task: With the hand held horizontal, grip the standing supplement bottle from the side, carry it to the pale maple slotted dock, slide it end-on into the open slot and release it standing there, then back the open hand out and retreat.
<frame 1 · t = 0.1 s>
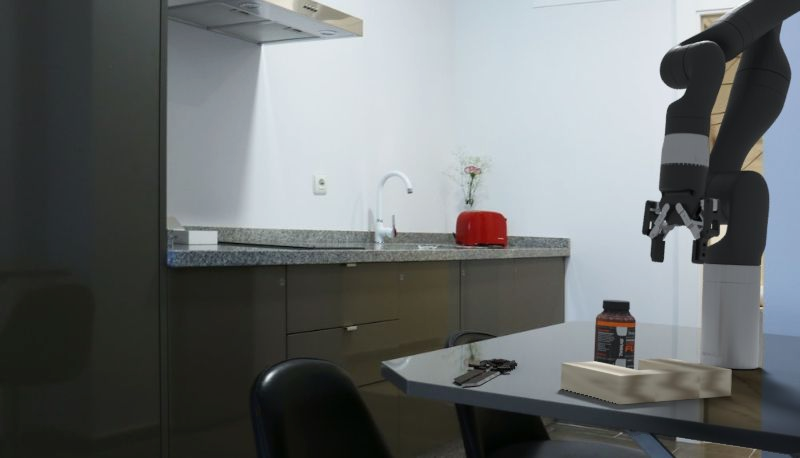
hand: (676, 263, 136), 17 cm above the table, tool pointing down, fingers open, 8 cm apart
supplement bottle: (613, 376, 127), on the table
slot dock: (645, 392, 112), on the table
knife: (486, 379, 122), on the table
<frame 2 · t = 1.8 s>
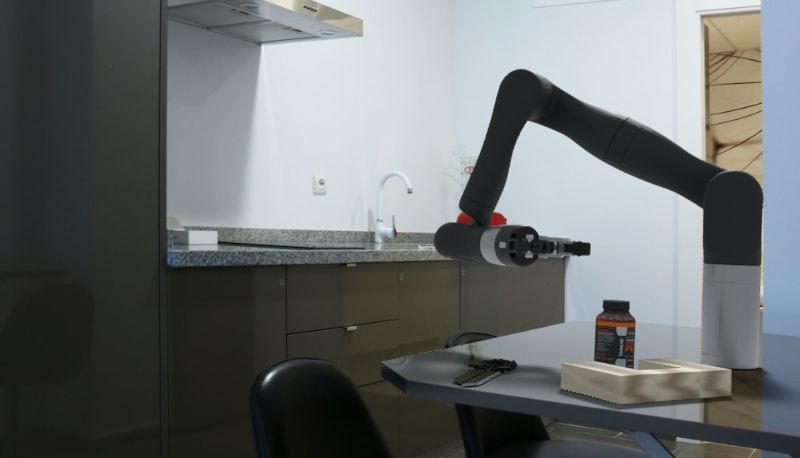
hand: (569, 248, 137), 19 cm above the table, tool horizontal, fingers open, 8 cm apart
nothing on the table moved.
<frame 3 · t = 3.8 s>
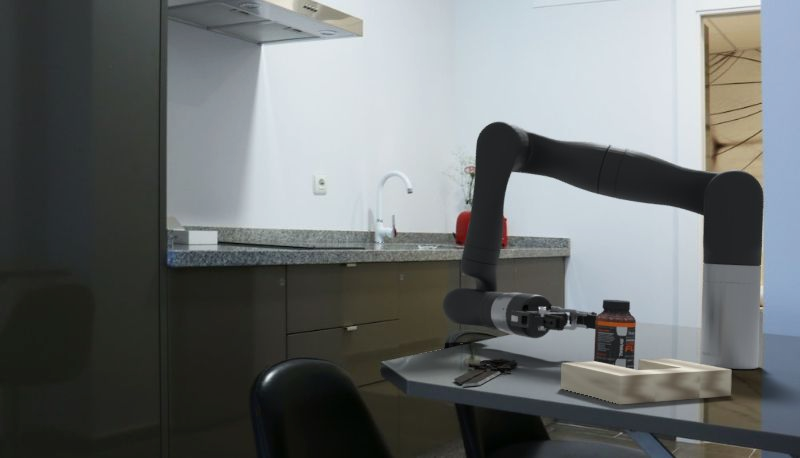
hand: (583, 323, 133), 7 cm above the table, tool horizontal, fingers open, 8 cm apart
nothing on the table moved.
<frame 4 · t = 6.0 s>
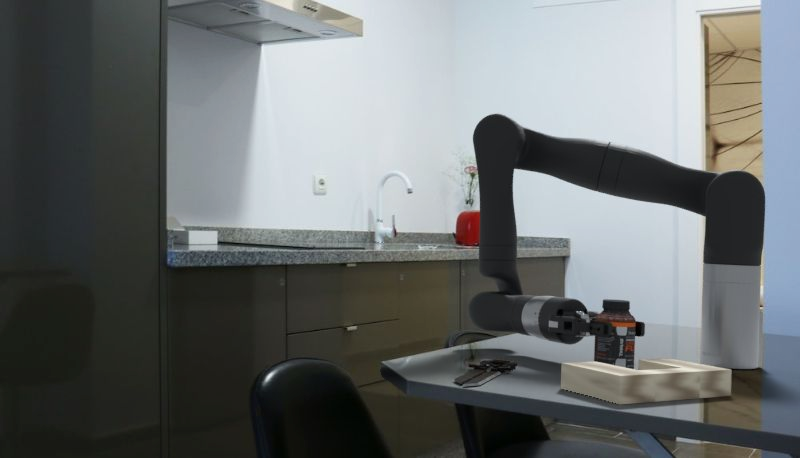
hand: (626, 329, 125), 7 cm above the table, tool horizontal, fingers closed on supplement bottle, 6 cm apart
supplement bottle: (613, 375, 127), on the table, touching gripper
everything else where it was.
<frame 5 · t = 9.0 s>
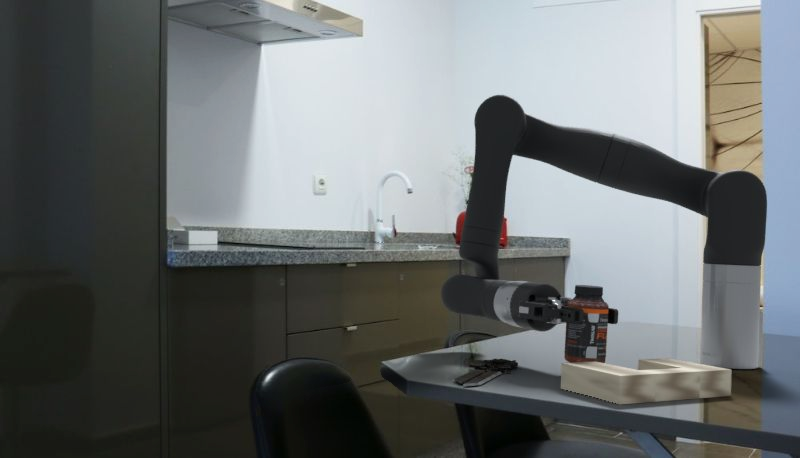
hand: (599, 316, 120), 9 cm above the table, tool horizontal, fingers closed on supplement bottle, 6 cm apart
supplement bottle: (584, 364, 122), point 2 cm above the table, touching gripper
everything else where it was.
when the fingers open (8 cm above the table, at t = 12.1 s): supplement bottle drops 1 cm, on the table.
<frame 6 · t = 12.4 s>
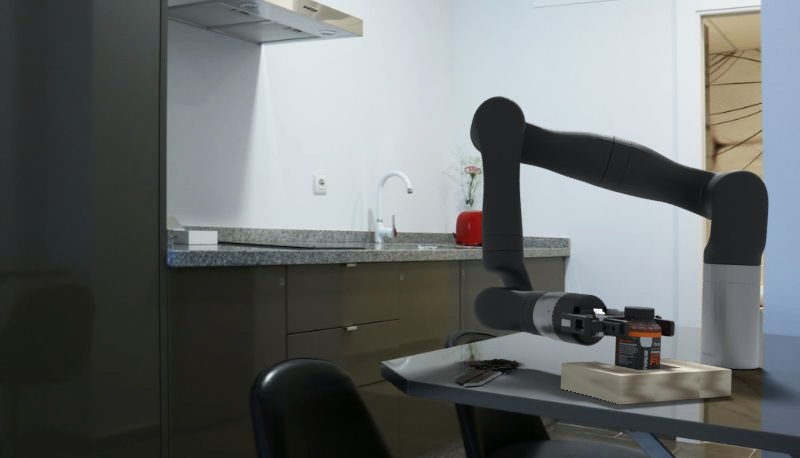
hand: (650, 329, 112), 8 cm above the table, tool horizontal, fingers open, 8 cm apart
supplement bottle: (636, 392, 113), on the table
everything else where it was.
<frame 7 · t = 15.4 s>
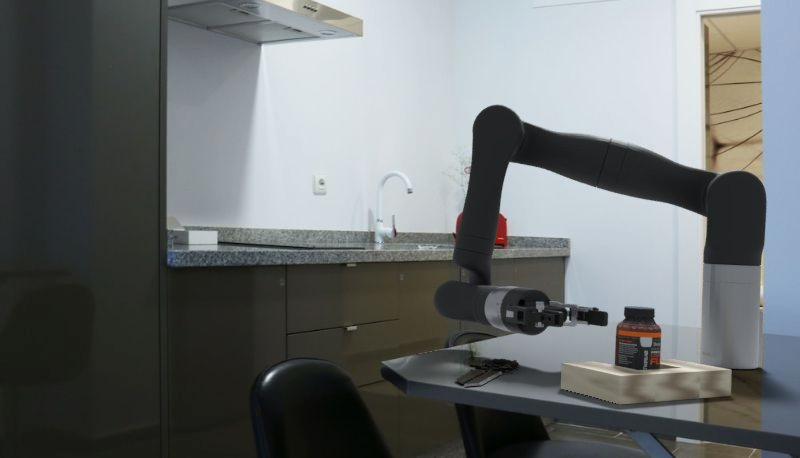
hand: (584, 319, 123), 9 cm above the table, tool horizontal, fingers open, 8 cm apart
nothing on the table moved.
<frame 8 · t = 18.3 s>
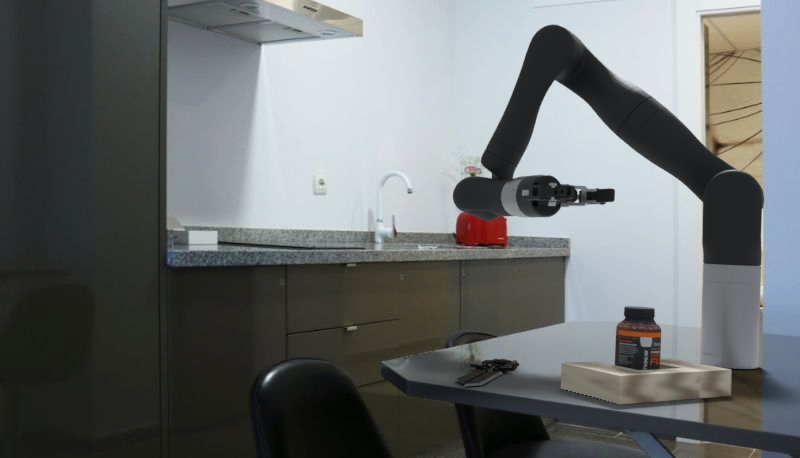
hand: (593, 193, 136), 28 cm above the table, tool horizontal, fingers open, 8 cm apart
nothing on the table moved.
at the end: supplement bottle 0.7 cm from the target spot on the slot dock, point 0.0 cm above the slot dock's base; supplement bottle tilted 0°; the gripper is holding nothing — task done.
